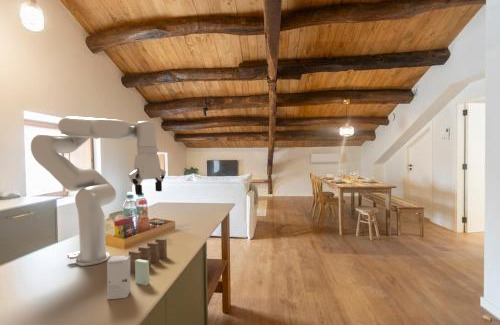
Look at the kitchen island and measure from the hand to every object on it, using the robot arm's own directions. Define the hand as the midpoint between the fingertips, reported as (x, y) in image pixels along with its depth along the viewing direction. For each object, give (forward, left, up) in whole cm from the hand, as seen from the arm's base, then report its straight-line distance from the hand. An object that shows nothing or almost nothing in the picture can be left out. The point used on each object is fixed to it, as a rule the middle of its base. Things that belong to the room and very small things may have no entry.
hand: (149, 192), depth 107 cm
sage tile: (-4, -18, -29) cm, 34 cm away
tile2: (-3, -4, -29) cm, 29 cm away
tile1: (-6, -7, -29) cm, 31 cm away
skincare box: (-11, -23, -29) cm, 39 cm away
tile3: (+1, 0, -29) cm, 29 cm away
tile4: (+5, +4, -29) cm, 30 cm away
